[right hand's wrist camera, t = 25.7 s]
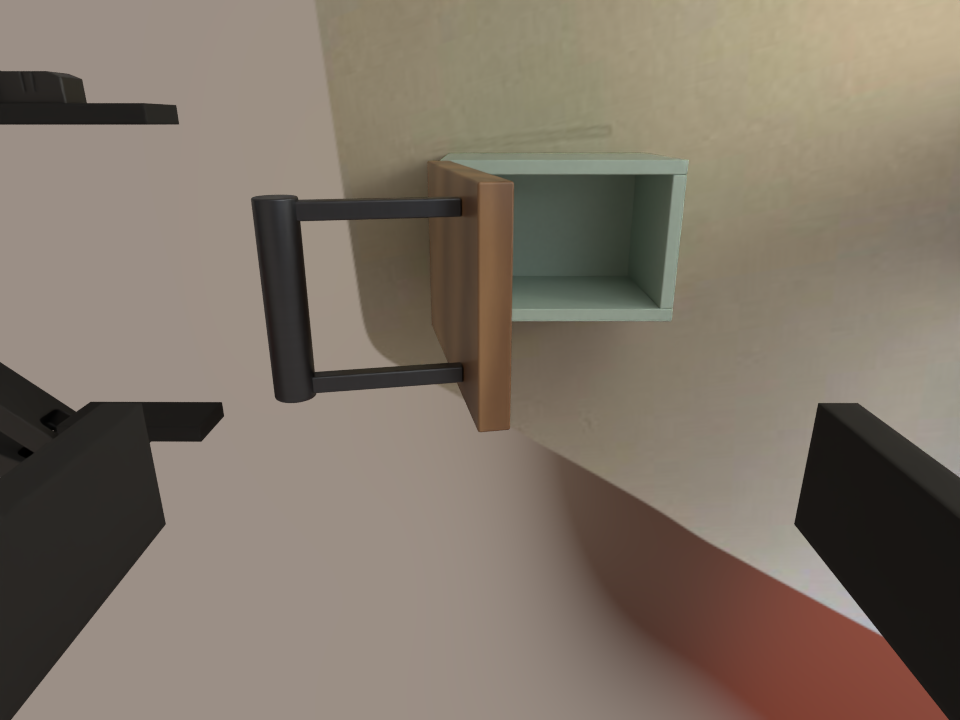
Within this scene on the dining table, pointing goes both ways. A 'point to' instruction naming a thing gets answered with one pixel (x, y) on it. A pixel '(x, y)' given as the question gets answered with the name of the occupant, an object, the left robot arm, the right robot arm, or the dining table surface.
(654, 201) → the chest
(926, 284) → the dining table surface
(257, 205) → the lid
